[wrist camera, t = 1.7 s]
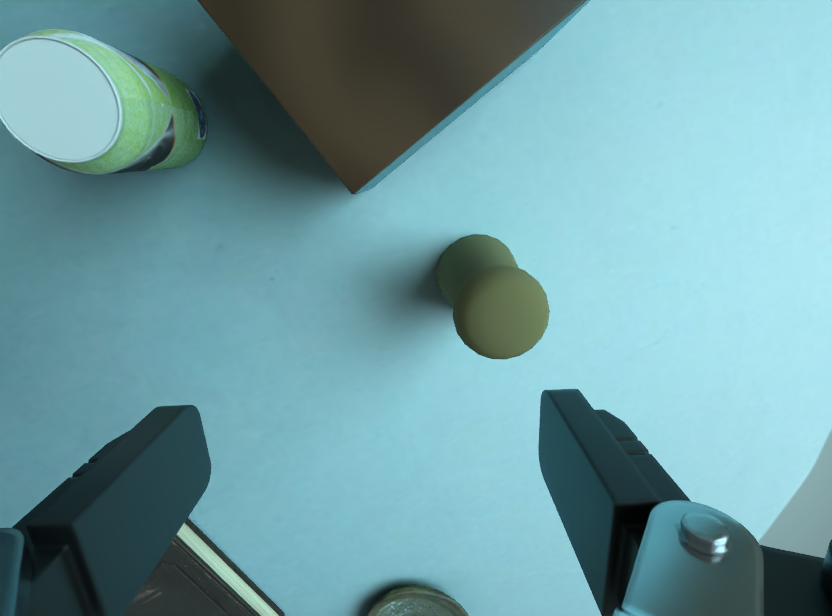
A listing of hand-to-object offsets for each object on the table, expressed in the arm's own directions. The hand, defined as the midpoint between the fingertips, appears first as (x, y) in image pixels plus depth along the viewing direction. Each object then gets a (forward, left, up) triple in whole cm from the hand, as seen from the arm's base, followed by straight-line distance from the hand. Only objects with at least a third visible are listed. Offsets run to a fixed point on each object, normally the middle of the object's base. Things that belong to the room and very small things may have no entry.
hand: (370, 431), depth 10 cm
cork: (+5, +4, -23) cm, 24 cm away
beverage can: (-16, -6, -23) cm, 29 cm away
